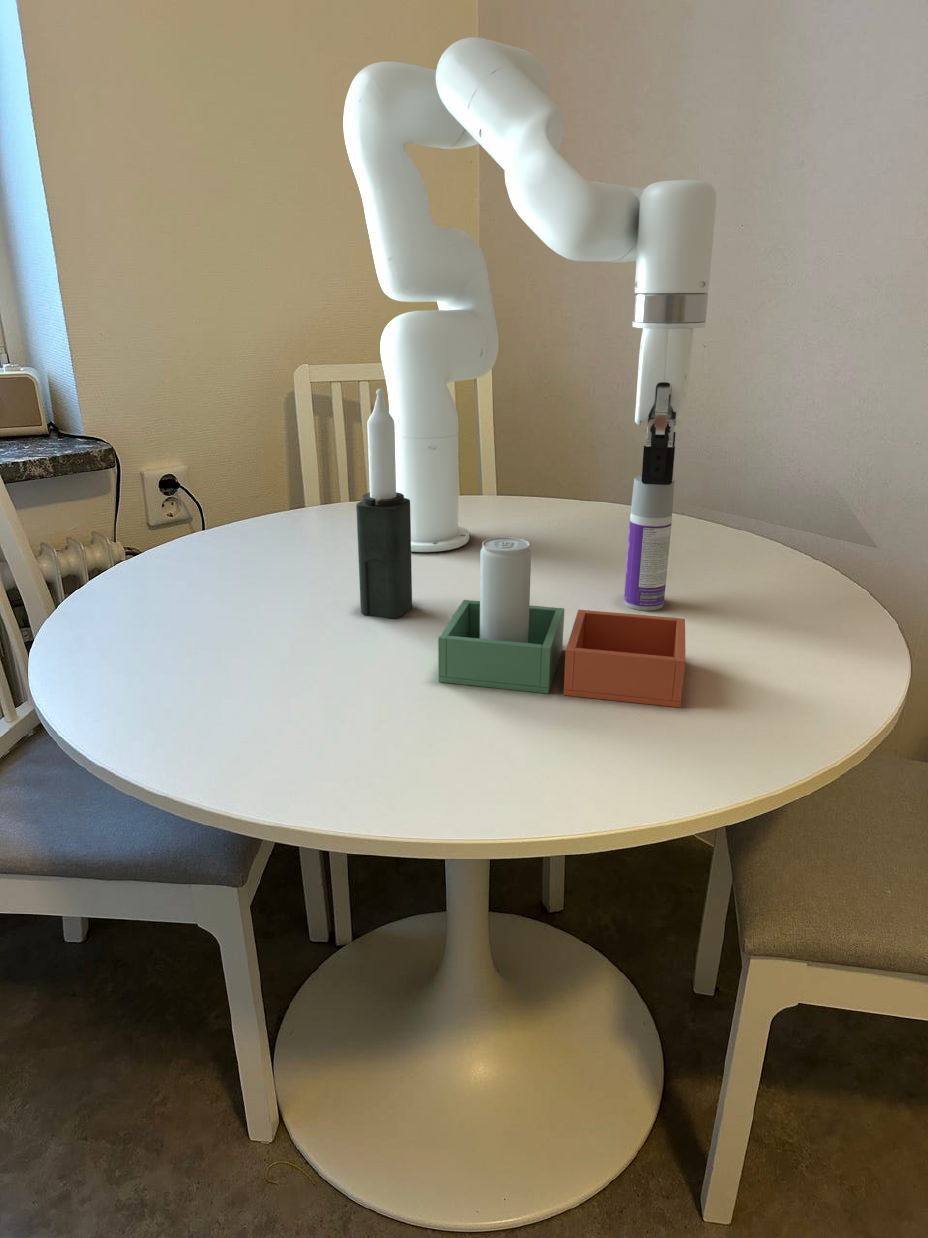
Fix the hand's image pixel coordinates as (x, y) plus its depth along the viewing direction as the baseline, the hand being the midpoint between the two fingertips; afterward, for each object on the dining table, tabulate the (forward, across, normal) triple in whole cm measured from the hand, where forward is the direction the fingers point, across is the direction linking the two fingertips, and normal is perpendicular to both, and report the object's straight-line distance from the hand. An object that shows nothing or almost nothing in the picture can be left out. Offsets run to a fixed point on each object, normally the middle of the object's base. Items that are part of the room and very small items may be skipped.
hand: (657, 474), depth 98 cm
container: (+16, 0, 0) cm, 16 cm away
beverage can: (+15, +21, -14) cm, 29 cm away
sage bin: (+16, +21, -14) cm, 29 cm away
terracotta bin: (+16, +21, -2) cm, 26 cm away
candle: (+15, +9, -30) cm, 34 cm away
